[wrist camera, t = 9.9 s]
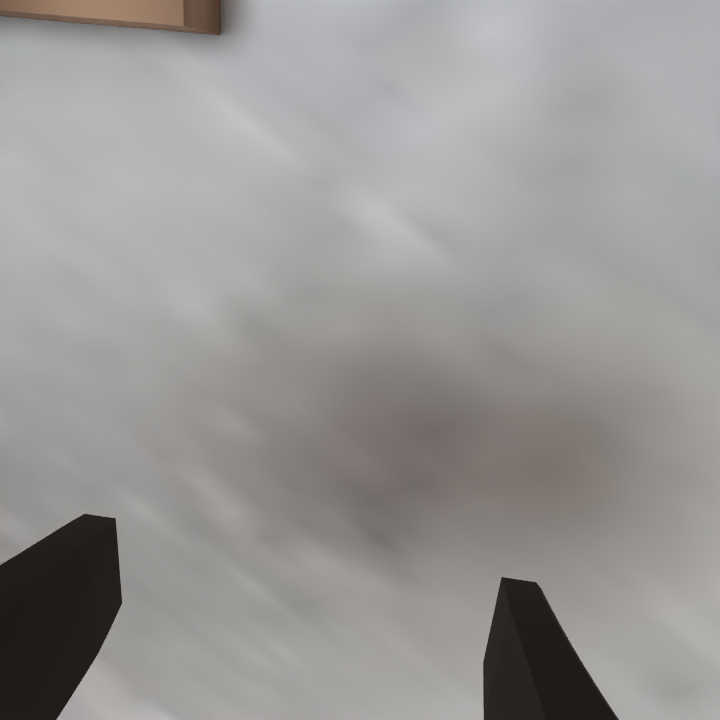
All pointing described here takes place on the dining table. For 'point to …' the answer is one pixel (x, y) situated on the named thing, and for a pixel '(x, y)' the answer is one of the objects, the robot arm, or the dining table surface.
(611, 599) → the dining table surface
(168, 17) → the socket block
